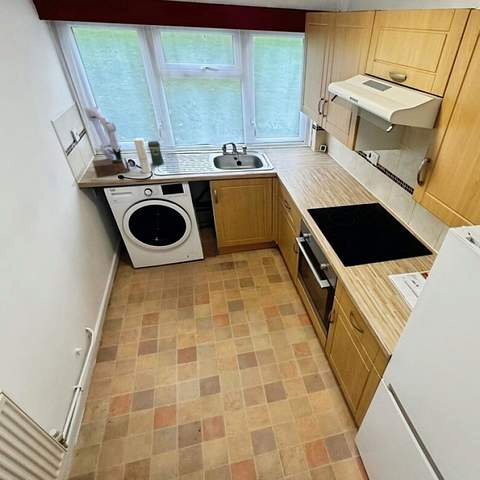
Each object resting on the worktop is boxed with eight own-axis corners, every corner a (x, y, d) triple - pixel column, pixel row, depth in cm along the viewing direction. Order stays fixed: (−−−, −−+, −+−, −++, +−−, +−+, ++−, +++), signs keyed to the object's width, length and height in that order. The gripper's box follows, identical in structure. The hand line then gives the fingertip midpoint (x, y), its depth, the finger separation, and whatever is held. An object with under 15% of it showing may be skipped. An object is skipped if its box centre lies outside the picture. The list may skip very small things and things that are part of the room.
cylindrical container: (152, 169, 248) (144, 138, 232) (149, 172, 242) (141, 140, 227) (144, 169, 248) (135, 137, 232) (140, 172, 242) (132, 140, 227)
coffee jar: (163, 161, 264) (159, 139, 252) (164, 164, 258) (159, 142, 246) (152, 162, 261) (147, 140, 250) (152, 165, 255) (147, 143, 244)
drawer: (132, 165, 252) (130, 157, 248) (135, 170, 243) (132, 162, 239) (111, 168, 246) (108, 160, 241) (113, 173, 237) (110, 165, 232)
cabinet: (114, 168, 247) (111, 158, 242) (116, 174, 238) (112, 163, 232) (96, 171, 242) (92, 160, 237) (97, 177, 232) (93, 166, 227)
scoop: (122, 158, 241) (118, 146, 235) (123, 160, 238) (119, 148, 232) (110, 160, 238) (106, 148, 232) (111, 162, 235) (107, 149, 229)
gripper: (120, 142, 226) (125, 160, 234) (118, 137, 236) (123, 155, 244) (110, 143, 223) (116, 161, 232) (108, 138, 233) (114, 156, 241)
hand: (119, 158), depth 238 cm, fingers closed on scoop, 4 cm apart
